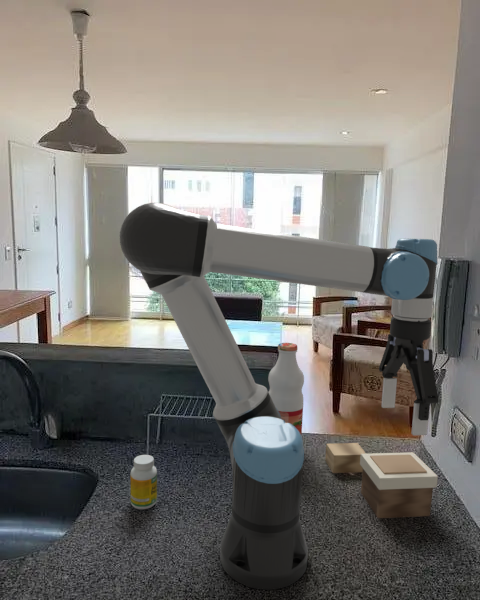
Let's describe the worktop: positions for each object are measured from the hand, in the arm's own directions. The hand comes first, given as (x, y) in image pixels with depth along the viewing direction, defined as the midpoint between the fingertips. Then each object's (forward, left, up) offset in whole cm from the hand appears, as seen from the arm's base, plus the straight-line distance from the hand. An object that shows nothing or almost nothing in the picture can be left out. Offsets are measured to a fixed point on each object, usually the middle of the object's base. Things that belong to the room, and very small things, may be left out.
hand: (402, 420), depth 94 cm
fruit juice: (-18, +27, -19) cm, 38 cm away
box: (0, 0, -19) cm, 19 cm away
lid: (0, 0, -12) cm, 12 cm away
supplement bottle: (-52, +5, -19) cm, 56 cm away
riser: (-5, +16, -19) cm, 25 cm away
